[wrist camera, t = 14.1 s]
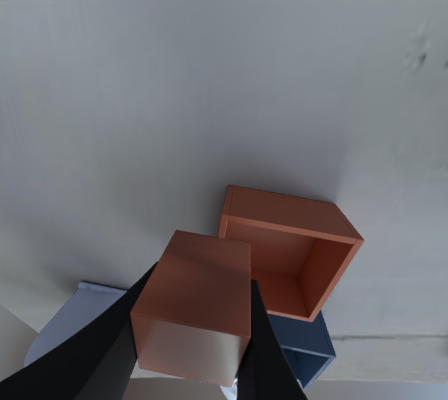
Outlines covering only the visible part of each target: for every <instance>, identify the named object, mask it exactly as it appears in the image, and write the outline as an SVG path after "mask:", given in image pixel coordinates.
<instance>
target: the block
mask: <svg viewBox="0 0 448 400" xmlns="http://www.w3.org/2000/svg"><path fill="white" fill-rule="evenodd" d="M130 316H131V322H132V328H133V334H134V340H135V346H136V351H137V357H138V363H139V368H140V369H145V370H150V371H154V372H159V373H164V374H168V375H173V376H178V377H183V378H187V379H192V380H197V381H202V382H206V383H211V384H215V385H220V386H225V387H229V388H231V387H232V385H233V383H234V380H235V377H236V375H237V372H238V369H239V367H240V364H241V361H242V359H243V356H244V353H245V351H246V348H247V345H248V343H249V340H250V337H251V282H250V243H245V242H240V241H234V240H229V239H223V238H218V237H212V236H207V235H202V234H196V233H191V232H185V231H180V230H176V231H175V233H174V235H173V236H172V238H171V240H170V242H169V244H168V245H167V247H166V249H165V251H164V253H163V254H162V256H161V258H160V260H159V262H158V263H157V265H156V267H155V269H154V271H153V272H152V274H151V276H150V278H149V280H148V281H147V283H146V285H145V287H144V289H143V290H142V292H141V294H140V296H139V298H138V299H137V301H136V303H135V305H134V307H133V308H132V310H131V312H130Z"/></svg>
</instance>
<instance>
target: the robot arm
mask: <svg viewBox="0 0 448 400" xmlns="http://www.w3.org/2000/svg"><path fill="white" fill-rule="evenodd" d="M158 262H159V261H157V262H156V263H155V264H154V265H153V266H152V267H151V268H150V269H149V270H148V271H147V272H146V273H145V274H144V275H143V276H142V277H141V278H140V279H139V280H138V281H137V282H136V283H135V284H134V285H133V286H132V287H131V288H130V289H129V290H128V291H125V290H120V289H115V288H110V287H105V286H100V285H95V284H91V283H86V282H80V283H79V284H78V288H79V289H78V290H77V291H76V292H75V293H74V295H73V296H72V297H71V298H70V299H69V300H68V301H67V302H66V304H65V305H64V306H63V307H62V308H61V309H60V310H59V311H58V312H57V314H56V315H55V316H54V317H53V318H52V319H51V320H50V321H49V323H48V324H47V325H46V326H45V327H44V328H43V329H42V330H41V332H40V333H39V334H38V336H37V337H36V338H35V340H34V341H33V343H32V345H31V346H30V348H29V350H28V352H27V355H26V357H25V361H24V368H23V369H21V370H20V371H18V372H16V373H14V374H13V375H11V376H10V377H8V378H6V379H4V380H3V381H1V382H0V400H122V398H123V395H124V392H125V390H126V387H127V384H128V382H129V379H130V376H131V374H132V371H133V369H134V366H135V363H136V361H137V358H138V357H137V351H136V346H135V340H134V334H133V328H132V322H131V316H130V312H131V310H132V308H133V307H134V305H135V303H136V301H137V299H138V298H139V296H140V294H141V292H142V290H143V289H144V287H145V285H146V283H147V281H148V280H149V278H150V276H151V274H152V272H153V271H154V269H155V267H156V265H157V263H158ZM250 282H251V337H250V340H249V343H248V345H247V348H246V351H245V353H244V356H243V359H242V361H241V364H240V367H239V369H238V385H237V400H308V399H307V397H306V395H305V394H304V392H303V390H302V388H301V386H300V385H299V383H298V381H297V379H296V377H295V375H294V373H293V371H292V369H291V367H290V365H289V363H288V361H287V359H286V357H285V355H284V352H283V350H282V348H281V346H280V344H279V341H278V339H277V337H276V334H275V332H274V329H273V327H272V324H271V321H270V319H269V316H268V313H267V311H266V308H265V305H264V302H263V299H262V295H261V292H260V288H259V284H258V281H257V280H254V279H250Z"/></svg>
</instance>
